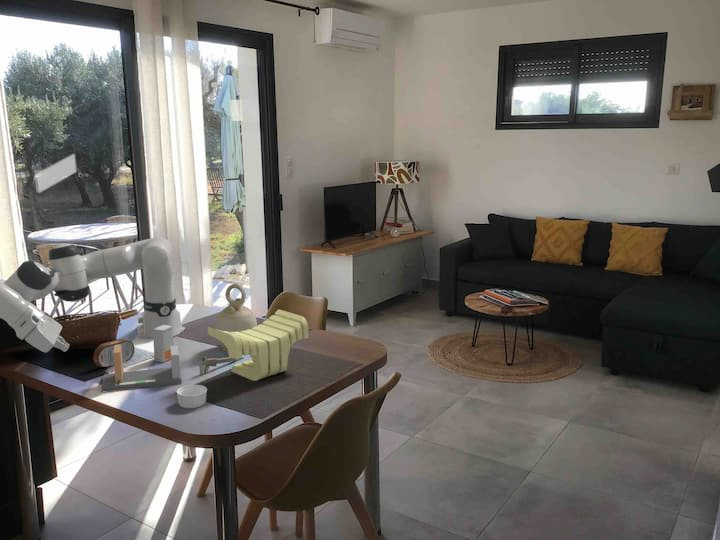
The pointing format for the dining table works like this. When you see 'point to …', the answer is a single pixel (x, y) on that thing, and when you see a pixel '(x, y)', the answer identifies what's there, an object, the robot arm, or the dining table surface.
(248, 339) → the slatted curved stool
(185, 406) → the ramekin
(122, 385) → the gauge board
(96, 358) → the tin
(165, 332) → the skincare box
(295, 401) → the dining table surface
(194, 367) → the dining table surface
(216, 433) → the dining table surface
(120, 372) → the paddle
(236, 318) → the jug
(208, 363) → the caliper
